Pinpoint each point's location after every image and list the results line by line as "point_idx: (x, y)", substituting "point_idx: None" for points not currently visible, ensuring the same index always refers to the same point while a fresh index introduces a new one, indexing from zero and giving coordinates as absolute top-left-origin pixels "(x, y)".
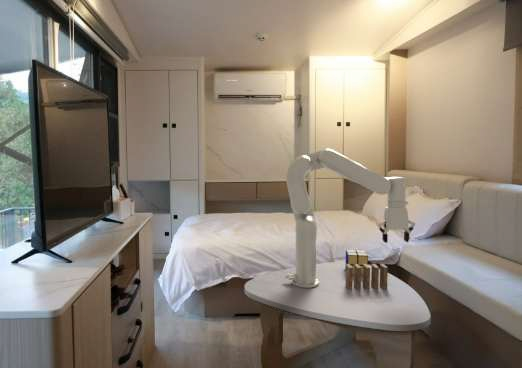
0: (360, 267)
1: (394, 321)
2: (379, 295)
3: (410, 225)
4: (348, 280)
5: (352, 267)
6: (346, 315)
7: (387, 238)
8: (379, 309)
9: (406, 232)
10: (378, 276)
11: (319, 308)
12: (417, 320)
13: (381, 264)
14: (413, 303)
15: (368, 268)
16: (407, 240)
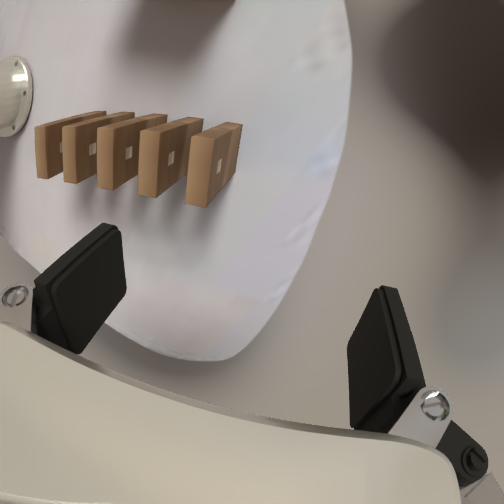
0: (73, 181)
1: (156, 344)
2: (175, 220)
3: (470, 500)
4: None
5: (47, 176)
6: None
7: (103, 321)
8: (142, 297)
9: (370, 427)
10: (175, 181)
11: (31, 252)
12: (207, 357)
13: (194, 148)
14: (256, 298)
15: (107, 187)
16: (351, 361)
